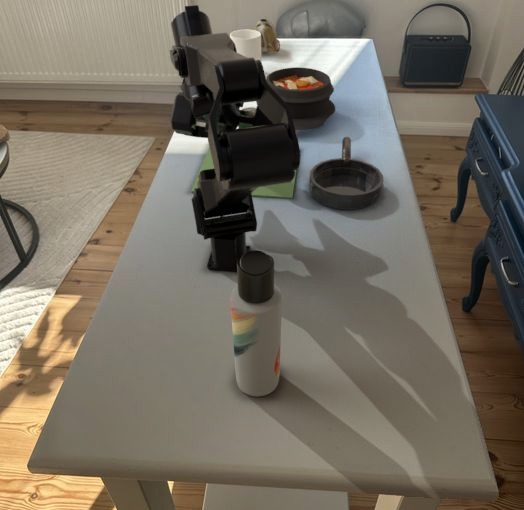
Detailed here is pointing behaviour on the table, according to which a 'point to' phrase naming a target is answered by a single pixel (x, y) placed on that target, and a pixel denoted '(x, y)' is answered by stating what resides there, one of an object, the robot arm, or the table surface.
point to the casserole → (304, 95)
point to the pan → (345, 183)
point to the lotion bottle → (256, 324)
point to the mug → (247, 43)
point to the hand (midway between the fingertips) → (239, 139)
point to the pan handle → (346, 150)
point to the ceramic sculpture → (267, 36)
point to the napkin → (264, 191)
